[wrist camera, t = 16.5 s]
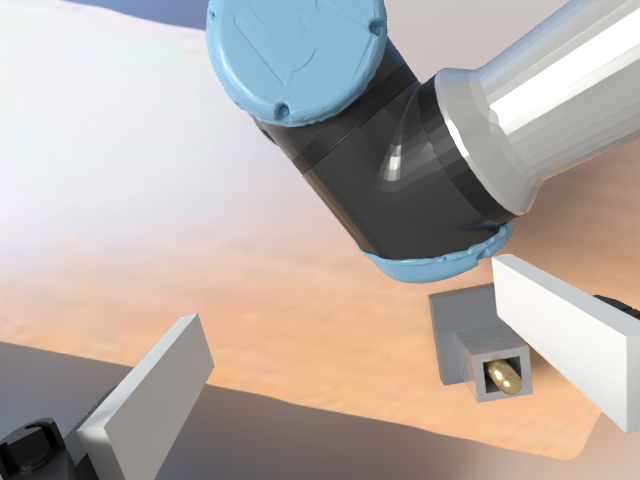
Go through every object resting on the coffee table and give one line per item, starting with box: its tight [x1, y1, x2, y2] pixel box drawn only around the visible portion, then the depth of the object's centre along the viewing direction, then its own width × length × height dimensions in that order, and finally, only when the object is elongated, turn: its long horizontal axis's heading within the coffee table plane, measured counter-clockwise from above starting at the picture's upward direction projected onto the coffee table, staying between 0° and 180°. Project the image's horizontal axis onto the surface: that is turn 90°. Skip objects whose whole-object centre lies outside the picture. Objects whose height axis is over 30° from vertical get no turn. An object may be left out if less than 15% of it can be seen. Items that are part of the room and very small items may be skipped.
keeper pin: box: [483, 359, 522, 395], centre depth 44 cm, size 3×3×9 cm
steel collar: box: [454, 323, 533, 403], centre depth 46 cm, size 7×7×6 cm
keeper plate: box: [428, 283, 524, 385], centre depth 49 cm, size 14×12×2 cm
